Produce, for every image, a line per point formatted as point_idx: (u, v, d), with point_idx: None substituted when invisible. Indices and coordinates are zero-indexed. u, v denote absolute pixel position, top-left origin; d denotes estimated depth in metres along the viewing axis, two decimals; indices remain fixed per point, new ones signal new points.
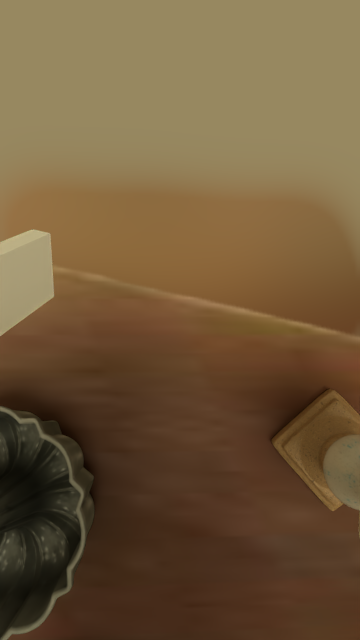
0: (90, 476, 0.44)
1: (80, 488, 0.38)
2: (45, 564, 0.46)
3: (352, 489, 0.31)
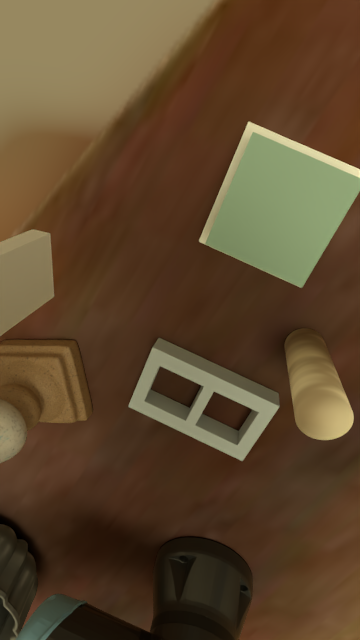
0: None
1: None
2: None
3: None
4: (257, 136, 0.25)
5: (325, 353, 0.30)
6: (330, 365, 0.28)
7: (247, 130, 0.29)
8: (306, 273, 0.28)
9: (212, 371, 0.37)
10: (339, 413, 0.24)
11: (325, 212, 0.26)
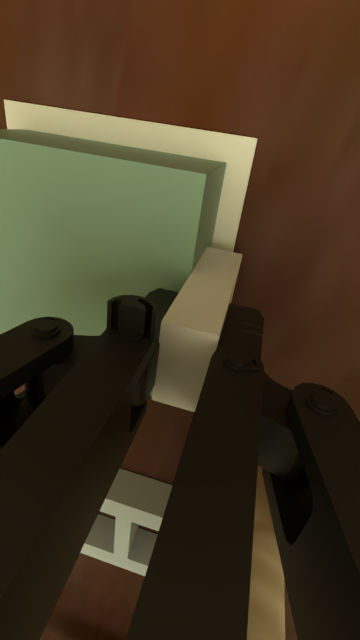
0: None
1: None
2: None
3: None
4: None
5: (258, 496, 0.16)
6: (257, 542, 0.14)
7: (9, 116, 0.15)
8: None
9: (120, 495, 0.24)
10: None
11: (151, 261, 0.12)
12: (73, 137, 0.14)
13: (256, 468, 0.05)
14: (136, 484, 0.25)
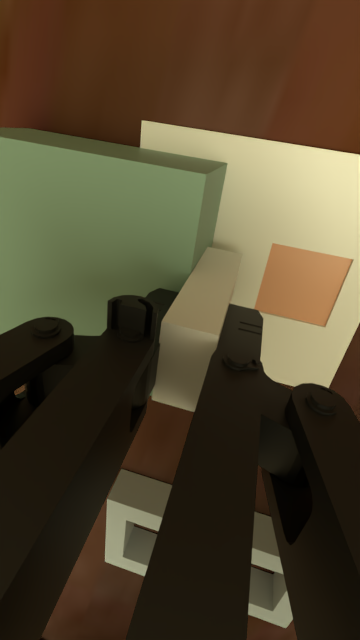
0: None
1: None
2: None
3: None
4: None
5: None
6: None
7: (145, 138, 0.14)
8: None
9: None
10: None
11: (151, 261, 0.11)
12: (74, 136, 0.14)
13: (255, 468, 0.05)
14: None
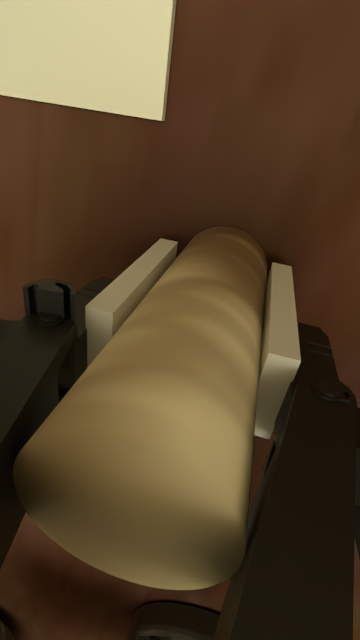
0: None
1: None
2: None
3: None
4: None
5: (224, 266, 0.11)
6: (216, 294, 0.09)
7: None
8: None
9: None
10: (169, 503, 0.05)
11: None
12: None
13: (352, 513, 0.05)
14: None
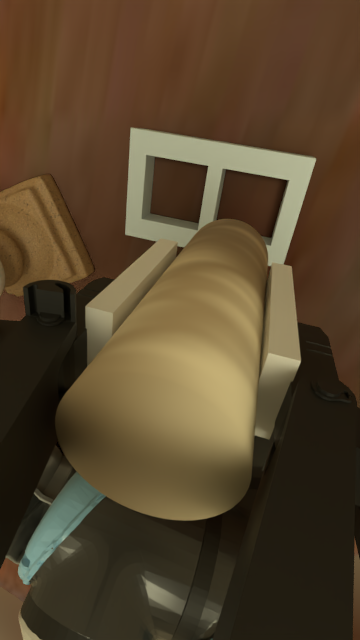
0: None
1: None
2: None
3: None
4: None
5: (230, 252, 0.12)
6: (223, 275, 0.10)
7: None
8: None
9: (214, 141, 0.27)
10: (190, 435, 0.06)
11: None
12: None
13: (352, 513, 0.05)
14: (225, 142, 0.28)
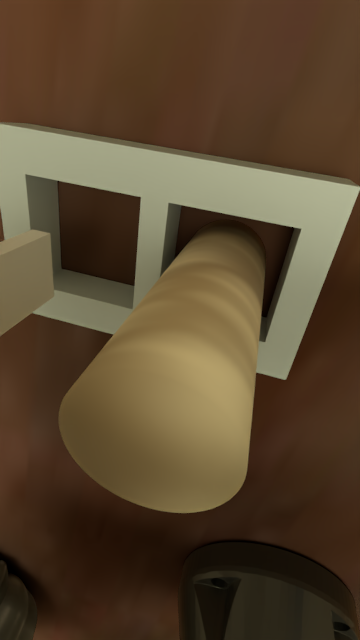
0: None
1: None
2: None
3: None
4: None
5: (226, 253, 0.12)
6: (219, 275, 0.10)
7: None
8: None
9: (151, 148, 0.14)
10: (186, 429, 0.06)
11: None
12: None
13: None
14: (176, 150, 0.14)
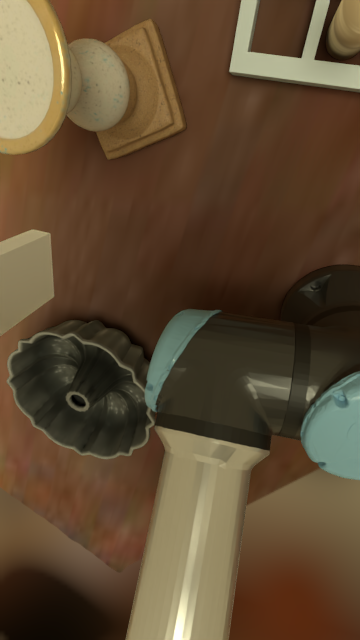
0: (89, 322, 0.54)
1: (68, 334, 0.49)
2: None
3: (75, 112, 0.30)
4: None
5: None
6: None
7: None
8: None
9: None
10: None
11: None
12: None
13: None
14: None
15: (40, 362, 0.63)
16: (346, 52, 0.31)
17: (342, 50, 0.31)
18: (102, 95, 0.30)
